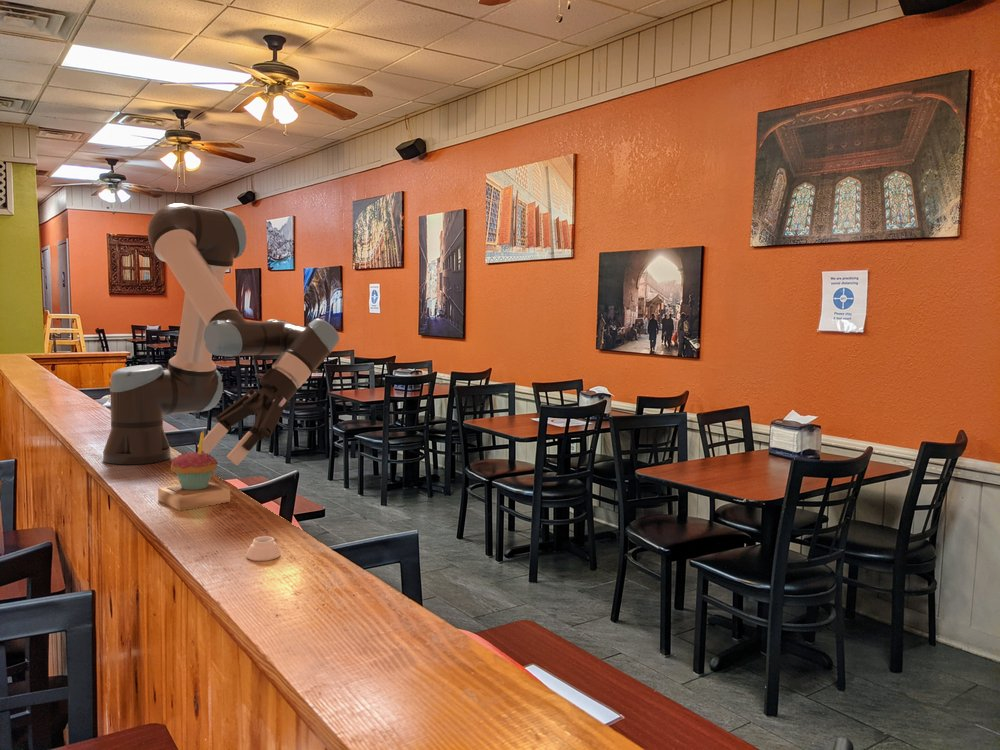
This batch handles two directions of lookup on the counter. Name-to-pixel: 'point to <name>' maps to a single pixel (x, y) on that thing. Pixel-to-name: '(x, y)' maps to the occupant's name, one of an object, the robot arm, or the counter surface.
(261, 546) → the lidless jar
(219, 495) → the square tray
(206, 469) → the cupcake
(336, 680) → the counter surface
